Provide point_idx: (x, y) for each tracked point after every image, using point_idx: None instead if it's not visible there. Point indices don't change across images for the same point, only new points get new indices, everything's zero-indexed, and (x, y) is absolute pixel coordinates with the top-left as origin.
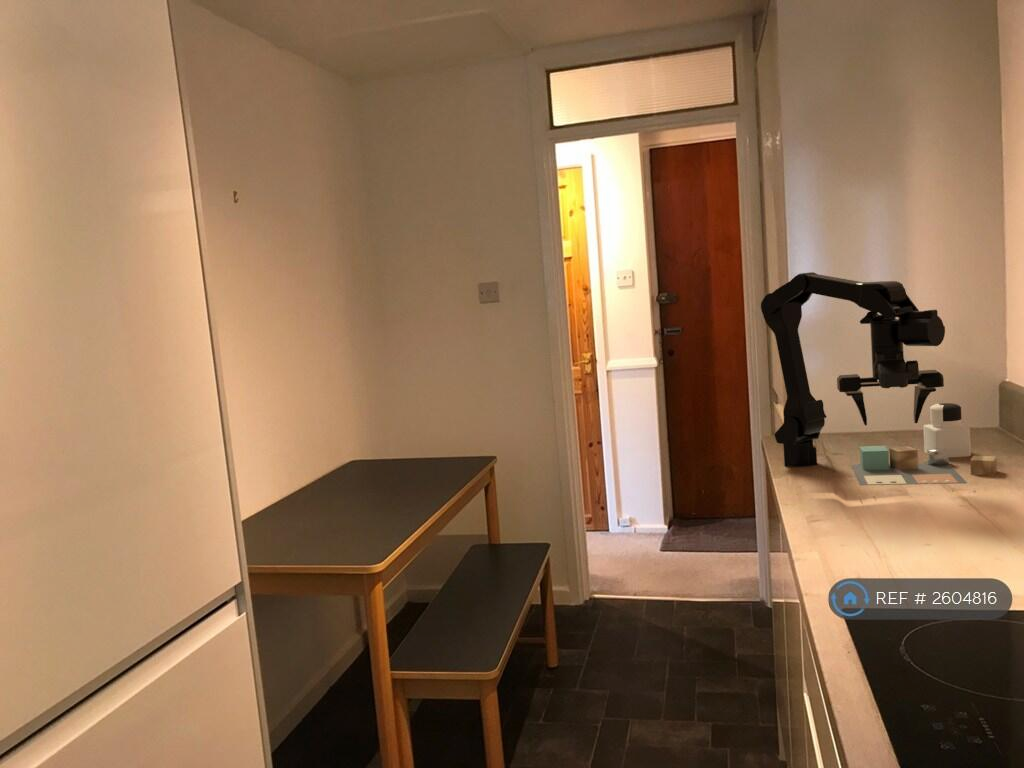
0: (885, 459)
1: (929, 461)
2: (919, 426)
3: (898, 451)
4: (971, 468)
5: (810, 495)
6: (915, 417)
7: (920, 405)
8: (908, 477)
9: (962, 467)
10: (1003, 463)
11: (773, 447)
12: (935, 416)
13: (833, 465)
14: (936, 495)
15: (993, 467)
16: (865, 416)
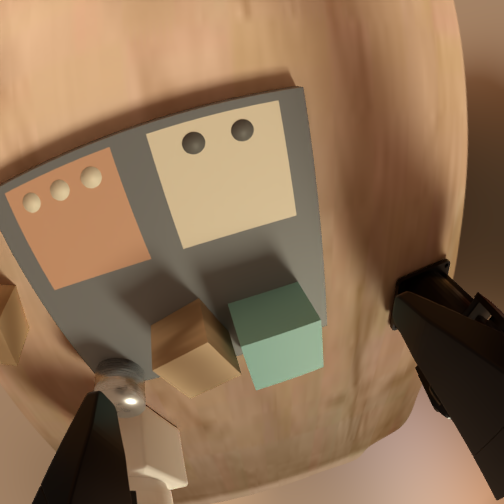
0: (243, 322)
1: (134, 370)
2: (222, 500)
3: (206, 343)
4: (3, 304)
5: (414, 30)
6: (91, 420)
7: (47, 498)
8: (153, 221)
9: (78, 377)
10: (30, 404)
11: (416, 392)
12: (155, 501)
13: (354, 334)
14: (49, 69)
15: None
16: (441, 324)
